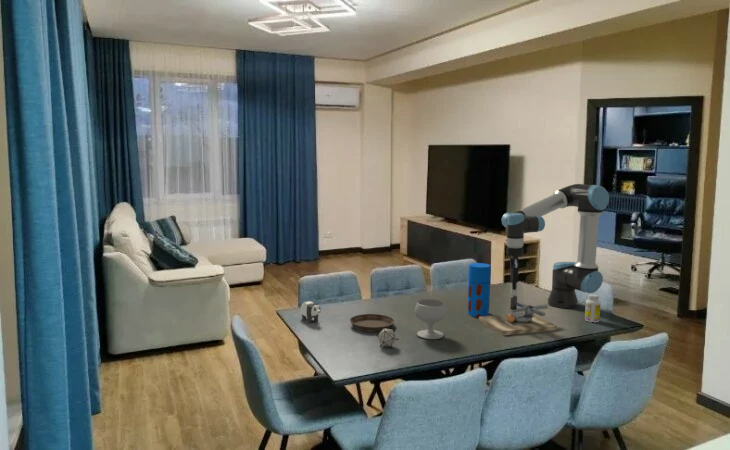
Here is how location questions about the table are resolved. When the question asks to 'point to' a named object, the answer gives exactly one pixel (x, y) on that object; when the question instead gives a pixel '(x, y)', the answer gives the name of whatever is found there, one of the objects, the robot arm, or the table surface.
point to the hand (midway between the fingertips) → (513, 295)
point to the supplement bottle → (592, 308)
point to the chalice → (430, 316)
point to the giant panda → (310, 311)
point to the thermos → (478, 289)
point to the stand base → (516, 325)
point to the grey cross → (525, 311)
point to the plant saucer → (371, 322)
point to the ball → (510, 318)
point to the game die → (387, 337)
